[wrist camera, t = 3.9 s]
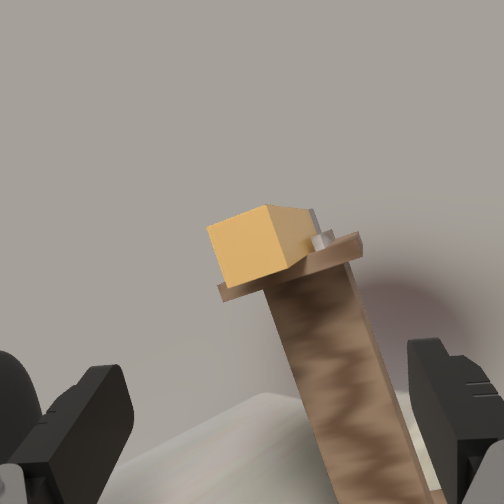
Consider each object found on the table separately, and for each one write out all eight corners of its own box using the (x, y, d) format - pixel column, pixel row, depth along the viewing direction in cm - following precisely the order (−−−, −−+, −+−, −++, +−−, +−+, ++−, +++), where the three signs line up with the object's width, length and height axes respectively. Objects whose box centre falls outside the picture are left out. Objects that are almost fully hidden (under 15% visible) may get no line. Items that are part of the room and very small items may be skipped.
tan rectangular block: (223, 289, 27) (201, 228, 27) (286, 256, 49) (274, 223, 49) (292, 266, 26) (270, 202, 26) (325, 243, 48) (313, 208, 48)
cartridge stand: (310, 649, 37) (181, 282, 37) (325, 522, 52) (234, 263, 53) (538, 629, 32) (389, 209, 33) (481, 495, 48) (380, 212, 48)
